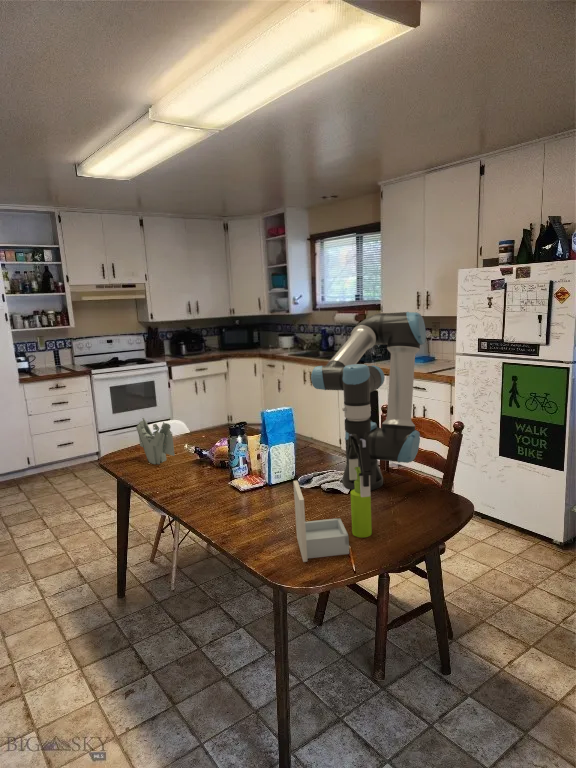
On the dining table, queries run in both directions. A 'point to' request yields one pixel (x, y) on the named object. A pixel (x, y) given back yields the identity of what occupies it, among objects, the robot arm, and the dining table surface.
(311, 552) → the cup bracket
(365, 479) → the robot arm
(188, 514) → the dining table surface
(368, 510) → the soap dispenser
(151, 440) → the grey pronged sculpture
